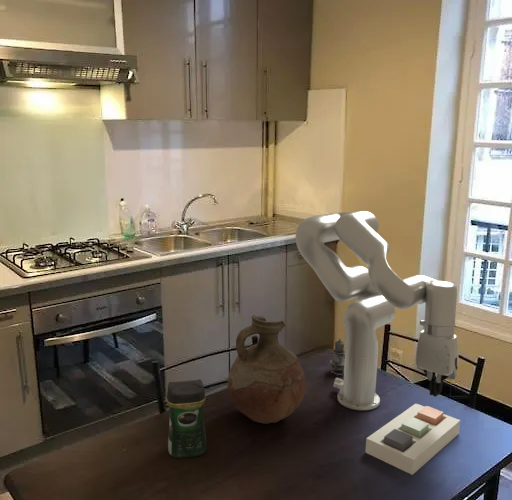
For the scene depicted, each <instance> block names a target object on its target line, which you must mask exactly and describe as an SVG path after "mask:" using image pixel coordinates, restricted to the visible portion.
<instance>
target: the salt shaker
mask: <svg viewBox="0 0 512 500" xmlns="http://www.w3.org/2000/svg"><path fill="white" fill-rule="evenodd" d="M333 353H334V355H333V359H330V360H329V363H330V366H331V368H332V369H330V371H332V373H334V374H344V363H345V342H344V341H342V340H341V338H338V340H337V341H335V345H334V350H333ZM332 373H331V374H332ZM334 374H333V375H334Z"/></svg>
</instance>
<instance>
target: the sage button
mask: <svg viewBox="0 0 512 500" xmlns="http://www.w3.org/2000/svg"><path fill="white" fill-rule="evenodd" d="M428 428H429V424H428V423H426V422H423V421H421V420H418V419H416V418H413V417H410V418H409V419H408V420H406V421H405V422H403V423H402V427H401V431H403V432H406V433H408V434H410V435H413V436H415V437H417V438H420V439H421V438H422V437H423V436H424V435H426V434H427V433H428Z"/></svg>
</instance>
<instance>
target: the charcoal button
mask: <svg viewBox="0 0 512 500" xmlns="http://www.w3.org/2000/svg"><path fill="white" fill-rule="evenodd" d="M412 439H413V436H411V435H408V434H406V433H403V432H401V431H399V430H396V429H394V430H392V431H391V432H390V433H388V434H387V435H386V436H384V444H386V445H388V446H390V447H392V448H395V449H397V450H399V451H401V452H405V451H406V450H407V449H408V448H409V447H411V446H412Z"/></svg>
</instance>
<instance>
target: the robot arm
mask: <svg viewBox="0 0 512 500" xmlns="http://www.w3.org/2000/svg"><path fill="white" fill-rule="evenodd" d="M379 225H380V224H379V221H378V219H377V217H376V215H374V214H373V213H372V212H370V211H367V210H358V211H357V210H356V211H347V212H345V211H344V212H332V213H326V214H320V215H313V216H309V217H307V218H305V219H303V220H302V221H300V222H299V224H298V225H297V228H296V230H295V244H296V247H297V250H298V252H299V254H300V255H301V256H302V258H303V259H304V261H306V262H307V264H308V265H309V266H310V267H311V269H313V271H314V272H315V274H316V275H317V277H318V279H319V280H320V281H321V283H322V284H323V286H324V287H325V289H326V290H327V291H328V293H329V295H330V296H331V297H332V298H333V299H334V300H335V301H336V302H338V303H339V302H340V303H341V302H342V303H344V302H349V301H352V300H355V299H356V300H355V301H352V302H351V303H350V304H348V306H347V307H346V308H345V310H344V313H343V326H344V332H345V335H344V336H345V342H344V351H345V353H344V360H345V363H344V375H343V379H342V378H339V377H335V378H334V382H333V385H332V386H333V387H334V388H337V389H339V391H338V393H337V401H338V403H339V404H340V405H342V406H344V407H345V408H348V409H351V410H354V411H370V410H373V409H374V410H375V409H376V408H378V407H379V406H380V405H381V398H380V396H379V395H378V394H377V393H376V388H377V387H376V386H377V374H378V373H377V372H378V359H379V358H378V356H379V354H378V353H379V342H378V338H377V334H376V329H377V330H378V328H381V327H383V326H386V325H387V324H389V323H391V322H392V321H393V320H394V318H395V316H396V315H397V314H396V313H397V312H396V311H397V309H400V310H407V309H410V308H411V309H412V308H413V307H416V306H417V305H423V304H425V306H424V307H425V310H424V319H421V320H420V321H419V325H420V326H423V329H422V330H421V331H420V333H419V337H418V341H417V345H416V350H415V351H416V352H415V358H414V359H415V366H416V367H417V369H419V370H420V371H422V372H423V373H424V374H425V375H426V377H427V380H428V391H429V395H430V396H433V397H435V398H436V397H437V396H439V395H440V394H441V393H442V392H443V381H445V380H446V379H448V380H455V379H456V378H458V374H457V371H458V368H459V344H458V338H457V335H456V334H455V327H456V326H455V325H456V312H457V298H458V297H457V296H458V287H457V286H456V284H455V283H453V282H452V281H451V282H450V281H446V280H439V279H434V278H431V277H429V276H428V275H427V276H426V275H424V274H423V275H422V274H416V275H412V276H409V277H406V278H401V277H400V276H399V275H398V274H397V273H396V272H395V271H394V270H393V269H392V268H391V267H390V265H389V263H388V261H387V256H388V254H389V252H390V249H391V248H390V247H391V246H390V245H389V243H388V241H386V239H384V238H383V237H382V236H381V235H380V234H379V233H378V231H379ZM334 241H342V243H343V244H345V246H346V247H348V248H349V250H351V252H352V253H354V254H355V256H356V257H358V258H359V260H360V261H362V262H363V263H364V264H365V265H366V267H365V266H363V265H353V266H347V265H346V264H344V262H343V261H342V259H341V258H340V257H339V255H338V254H337V253H336V252H335V251H333V249H331V248H330V247H329V246H326V245H325V243H328V242H334Z"/></svg>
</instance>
